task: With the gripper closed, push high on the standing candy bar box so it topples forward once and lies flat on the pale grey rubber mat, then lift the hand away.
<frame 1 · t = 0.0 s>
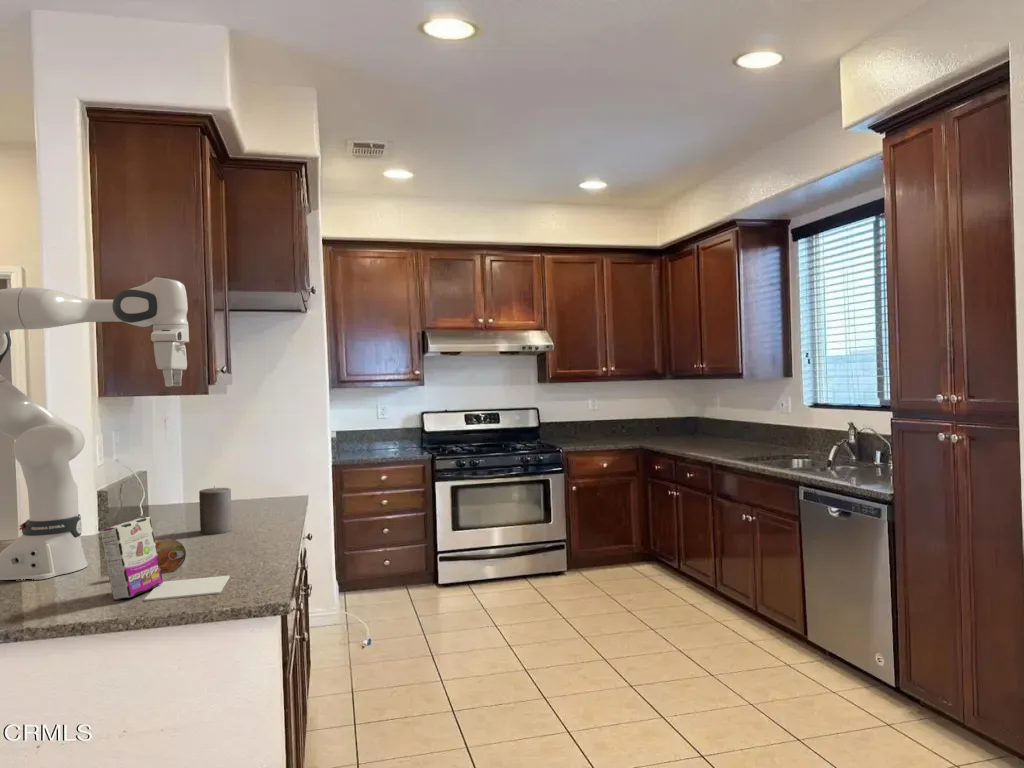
hand: (173, 386, 195), 48 cm above the worktop, fingers open, 8 cm apart
mat: (189, 588, 168), on the worktop
candy bar box: (138, 592, 165), on the worktop
pillar candle: (216, 532, 232), on the worktop
tin: (154, 574, 183), on the worktop
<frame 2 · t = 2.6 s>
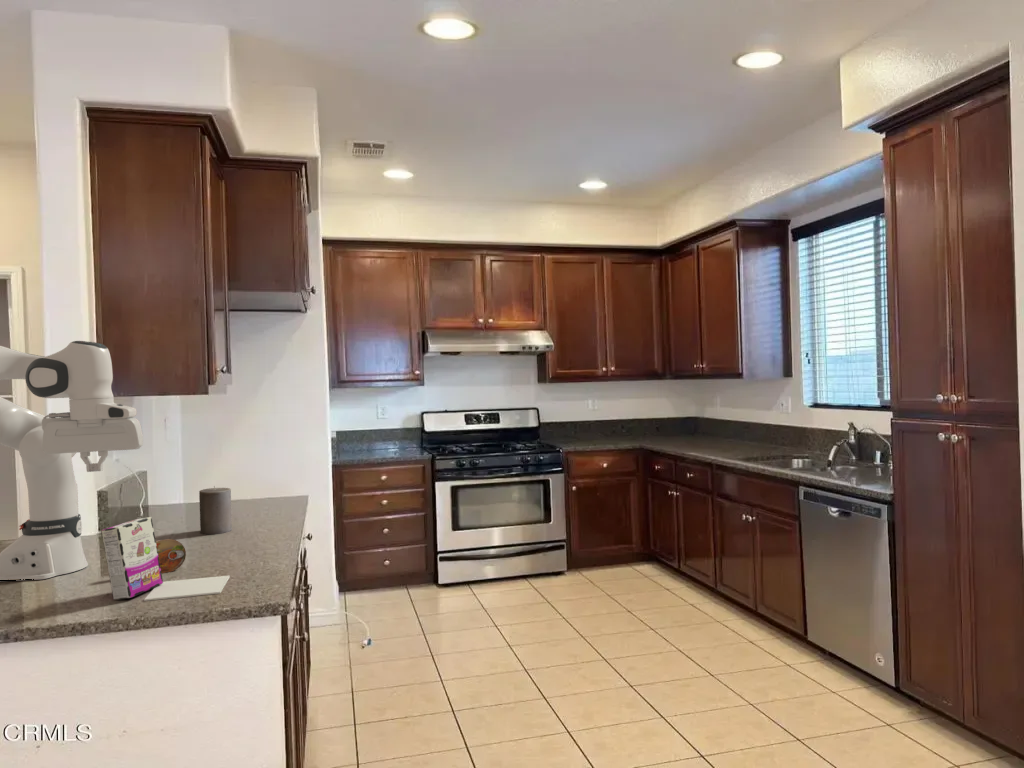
hand: (94, 471, 163), 29 cm above the worktop, fingers closed
candy bar box: (138, 592, 165), on the worktop, touching mat
everything else where it was.
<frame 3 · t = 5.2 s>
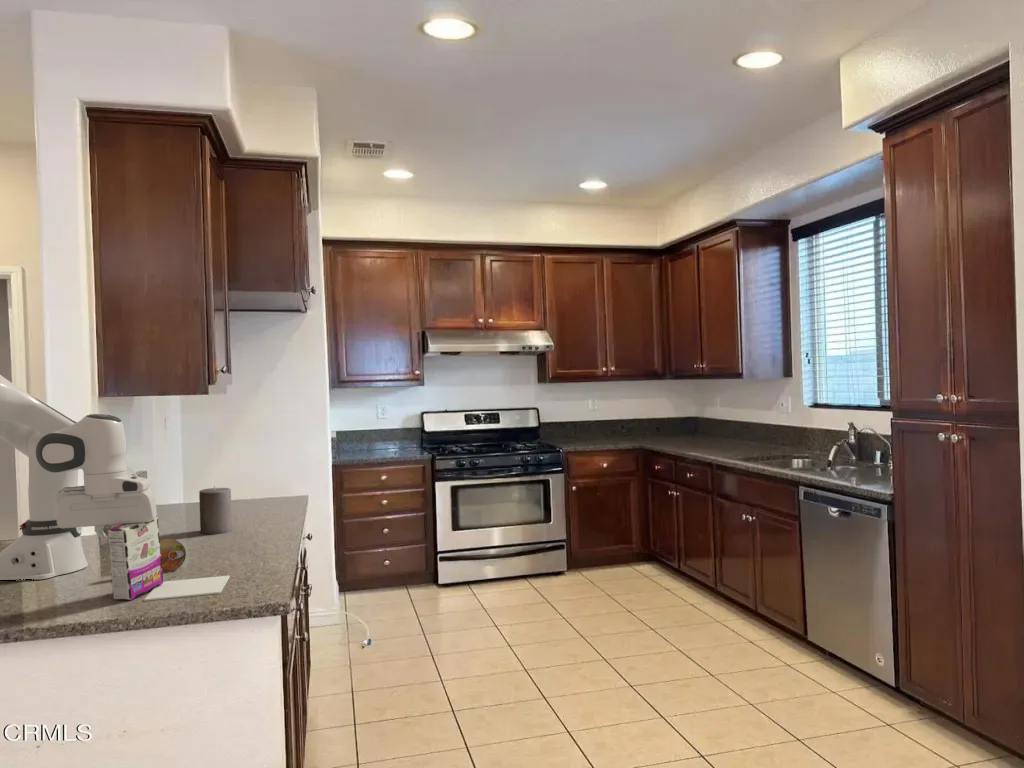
hand: (108, 544, 164), 12 cm above the worktop, fingers closed
candy bar box: (138, 592, 165), on the worktop, touching gripper, mat
everything else where it was.
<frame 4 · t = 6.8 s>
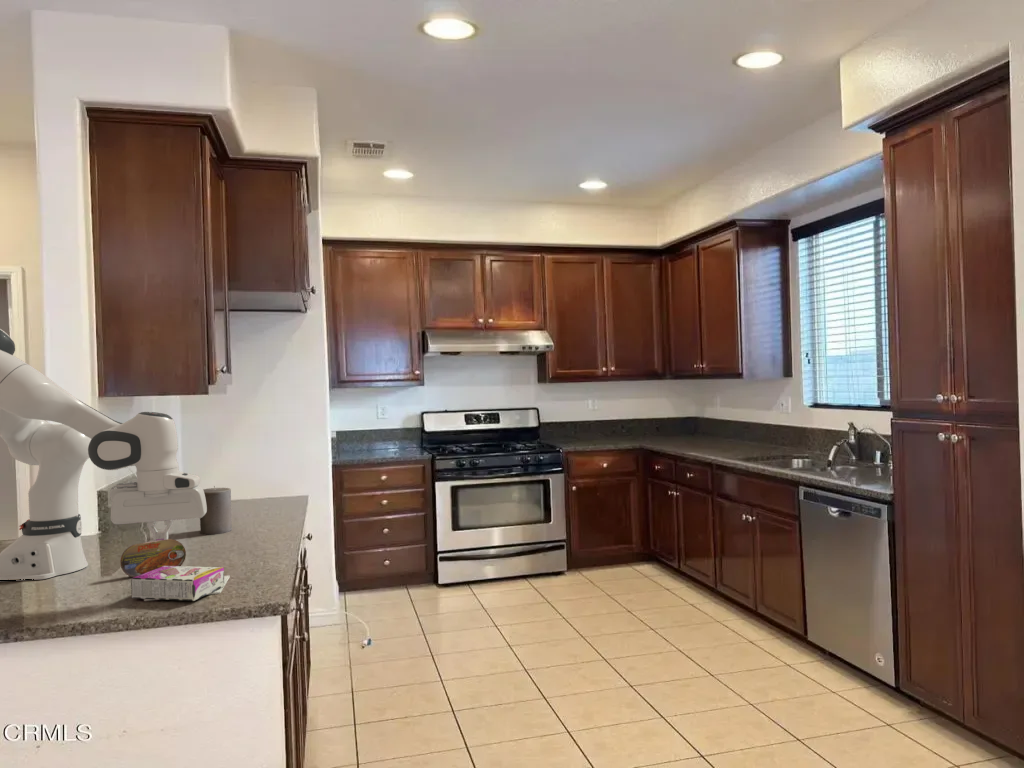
hand: (160, 539, 166), 12 cm above the worktop, fingers closed
candy bar box: (147, 581, 165), point 3 cm above the worktop, touching mat
everything else where it was.
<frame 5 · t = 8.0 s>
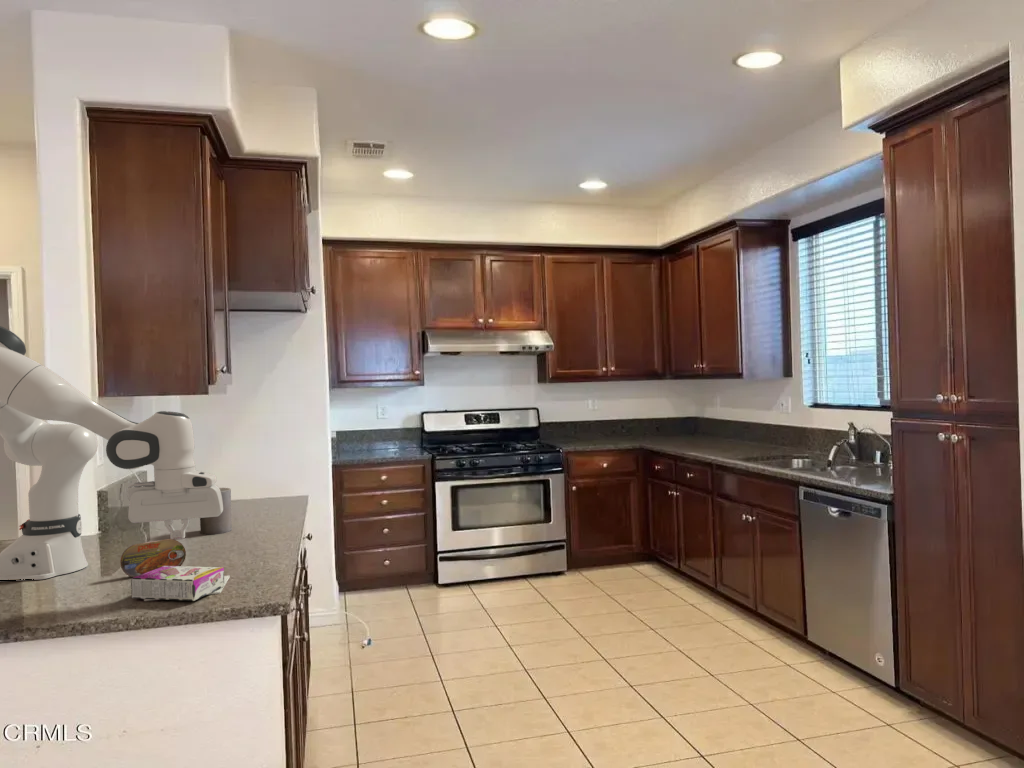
hand: (177, 538, 167), 12 cm above the worktop, fingers closed
nothing on the worktop moved.
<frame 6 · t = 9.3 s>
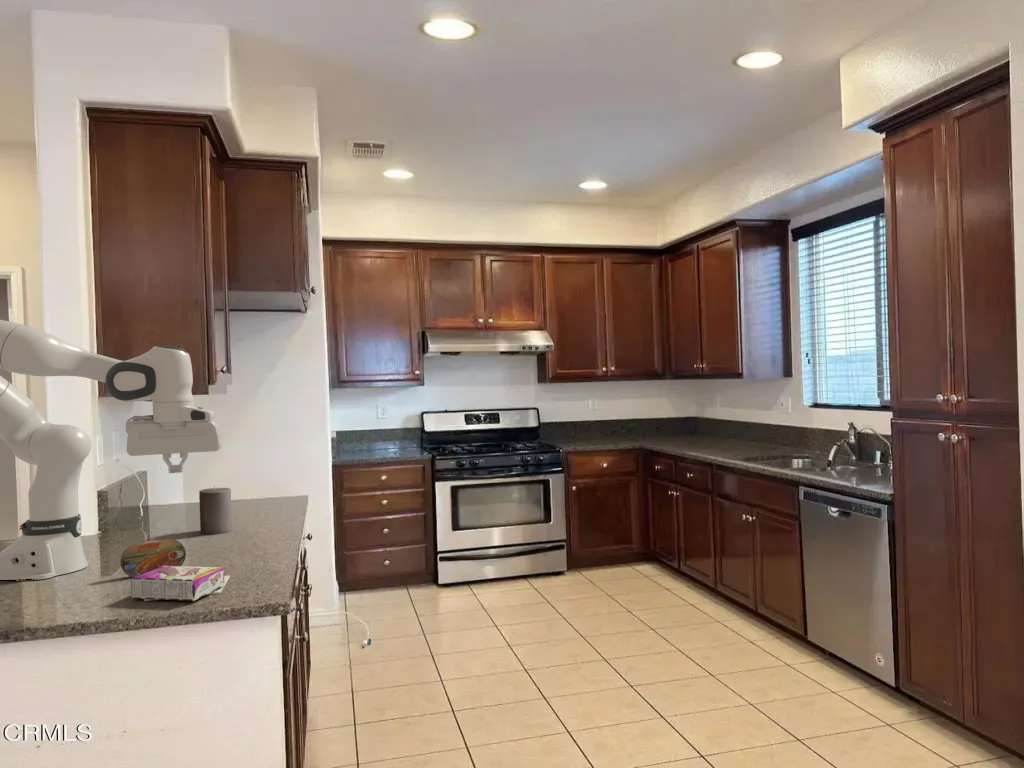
hand: (176, 472, 167), 28 cm above the worktop, fingers closed
nothing on the worktop moved.
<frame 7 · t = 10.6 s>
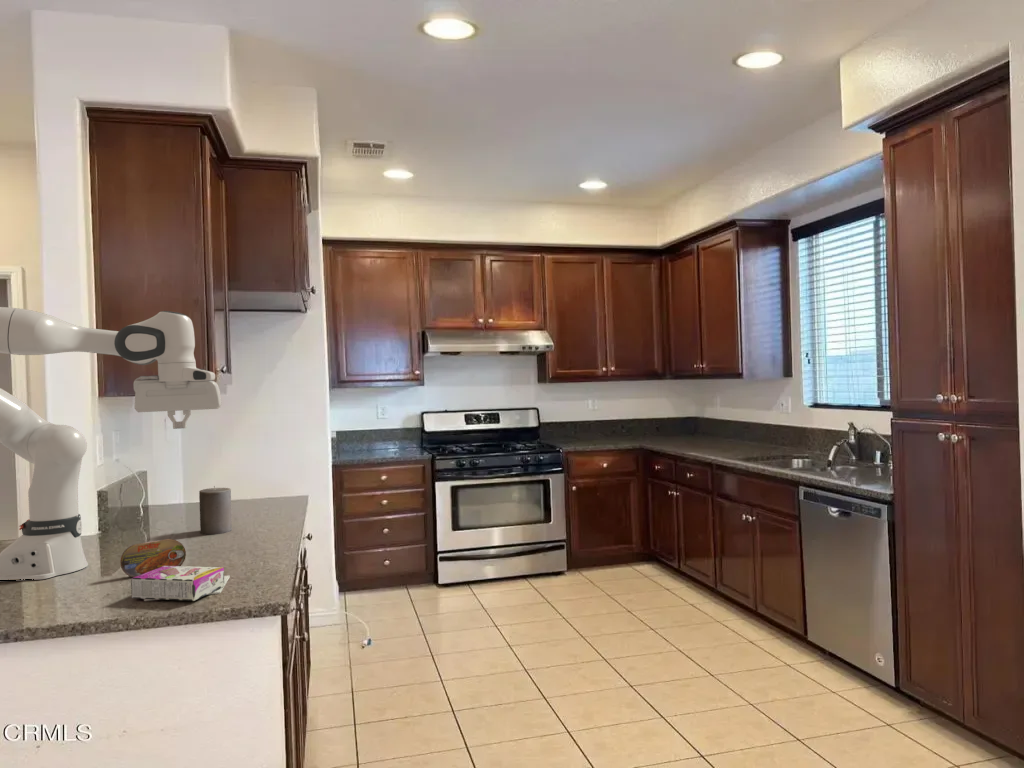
hand: (179, 428, 182), 37 cm above the worktop, fingers closed
nothing on the worktop moved.
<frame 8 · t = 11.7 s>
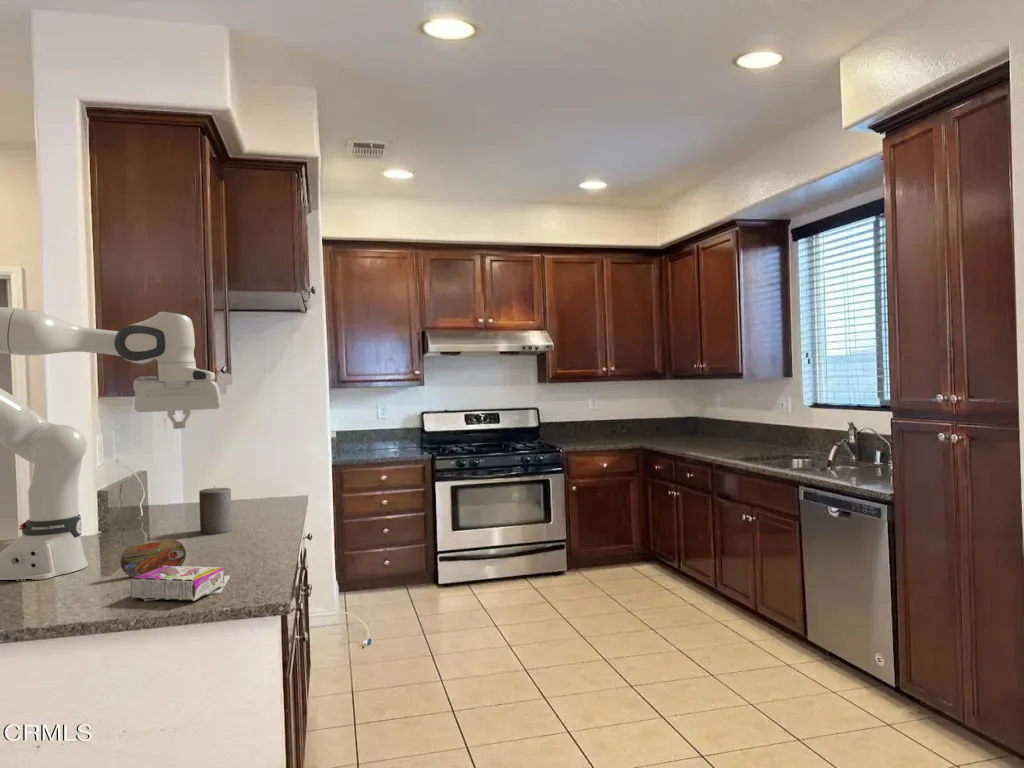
hand: (179, 428, 182), 37 cm above the worktop, fingers closed
nothing on the worktop moved.
at the end: candy bar box tilted 91°; candy bar box touching mat; candy bar box inside the target area (4.4 cm from its centre), point 2.9 cm above the worktop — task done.
